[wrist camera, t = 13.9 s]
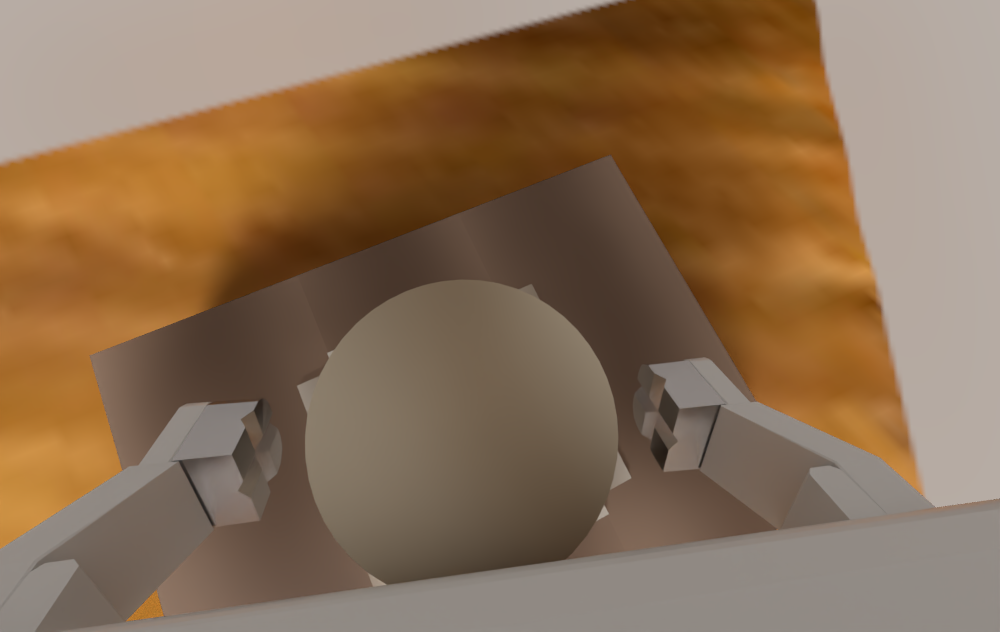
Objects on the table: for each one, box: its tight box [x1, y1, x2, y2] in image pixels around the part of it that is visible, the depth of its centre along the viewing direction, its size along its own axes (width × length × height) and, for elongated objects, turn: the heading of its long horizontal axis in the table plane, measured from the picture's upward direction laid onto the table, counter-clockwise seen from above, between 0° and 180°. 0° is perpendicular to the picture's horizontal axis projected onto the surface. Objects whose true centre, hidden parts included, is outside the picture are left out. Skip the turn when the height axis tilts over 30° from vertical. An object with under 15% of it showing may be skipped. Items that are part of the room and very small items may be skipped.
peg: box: [305, 280, 618, 585], centre depth 11 cm, size 4×4×10 cm
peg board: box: [90, 155, 777, 616], centre depth 14 cm, size 16×12×4 cm
